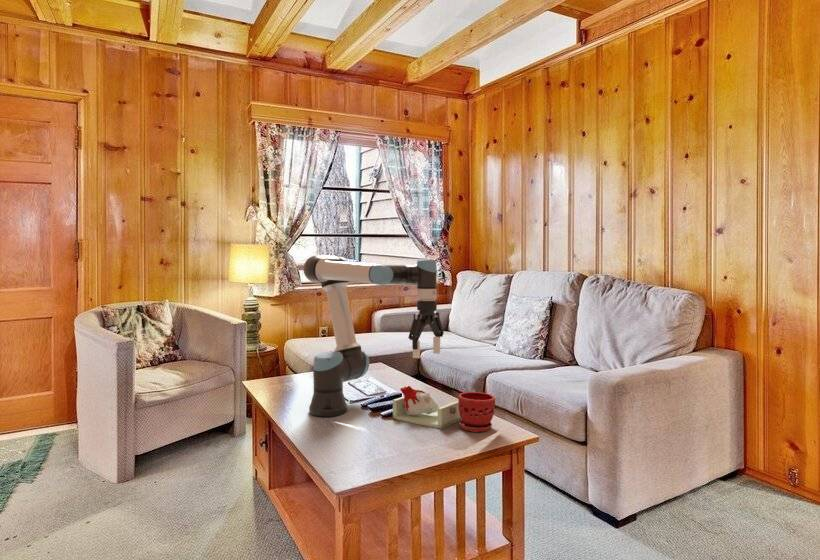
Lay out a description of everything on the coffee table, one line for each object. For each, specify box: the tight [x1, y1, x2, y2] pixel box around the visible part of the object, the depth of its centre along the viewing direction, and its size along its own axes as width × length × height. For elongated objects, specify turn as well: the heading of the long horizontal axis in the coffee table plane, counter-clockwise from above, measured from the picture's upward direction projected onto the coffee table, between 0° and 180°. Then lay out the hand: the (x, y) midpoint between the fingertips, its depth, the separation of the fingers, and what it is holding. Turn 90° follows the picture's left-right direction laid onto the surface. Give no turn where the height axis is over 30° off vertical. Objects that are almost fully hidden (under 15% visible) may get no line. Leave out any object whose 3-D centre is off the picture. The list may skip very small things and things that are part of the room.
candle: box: [399, 385, 439, 416], centre depth 196 cm, size 9×11×15 cm
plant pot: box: [457, 391, 496, 433], centre depth 183 cm, size 13×13×12 cm
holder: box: [392, 396, 462, 430], centre depth 194 cm, size 25×14×7 cm, turn 53°
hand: (426, 355), depth 194 cm, fingers open, 13 cm apart
